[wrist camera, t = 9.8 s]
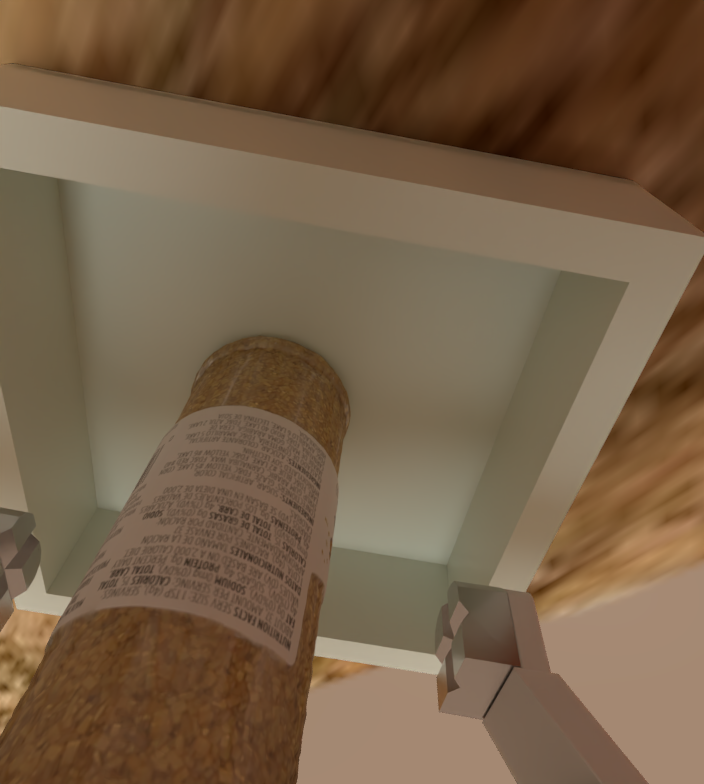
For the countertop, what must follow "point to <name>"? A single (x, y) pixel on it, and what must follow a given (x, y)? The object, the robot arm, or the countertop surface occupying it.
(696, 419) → the countertop surface
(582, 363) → the bin
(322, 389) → the sprinkles bottle
